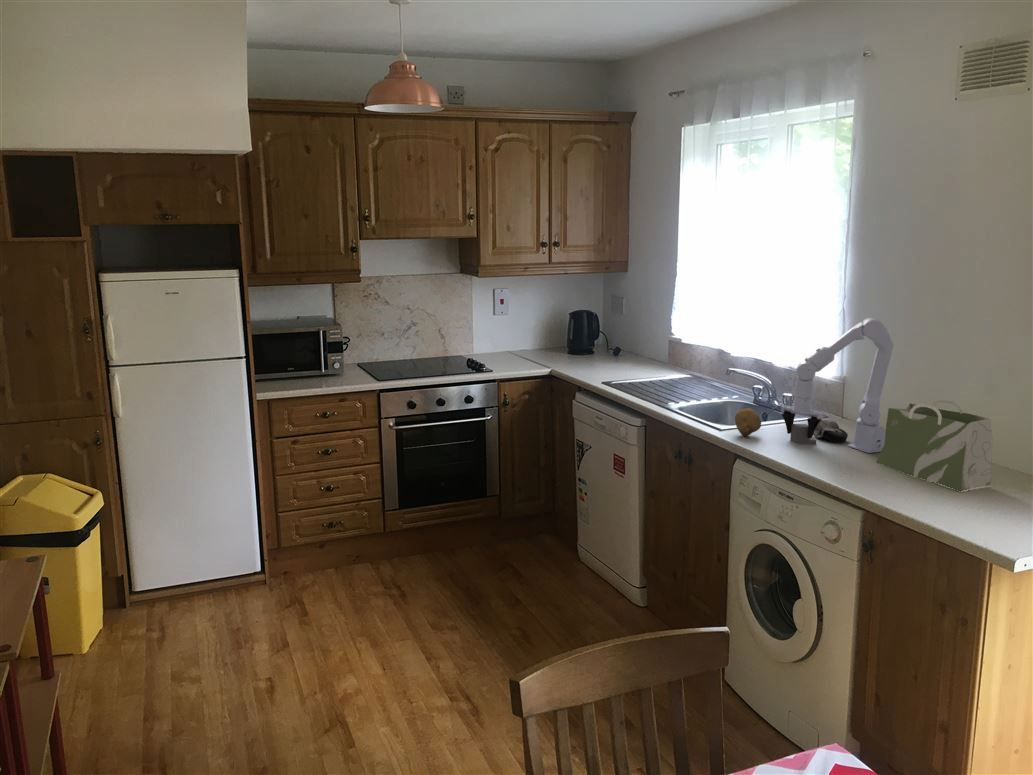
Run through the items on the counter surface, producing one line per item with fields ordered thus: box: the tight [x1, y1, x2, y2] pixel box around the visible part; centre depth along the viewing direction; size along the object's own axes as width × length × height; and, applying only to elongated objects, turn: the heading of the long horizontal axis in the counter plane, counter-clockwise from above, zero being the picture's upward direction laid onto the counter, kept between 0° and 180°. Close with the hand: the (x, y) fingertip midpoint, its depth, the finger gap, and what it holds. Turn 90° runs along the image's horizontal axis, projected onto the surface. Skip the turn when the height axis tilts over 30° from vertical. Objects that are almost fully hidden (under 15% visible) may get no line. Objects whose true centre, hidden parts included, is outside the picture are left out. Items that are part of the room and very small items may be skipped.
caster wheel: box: [813, 418, 849, 444], centre depth 304 cm, size 7×11×10 cm
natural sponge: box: [734, 407, 762, 437], centre depth 306 cm, size 9×9×10 cm
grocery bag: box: [876, 398, 993, 493], centre depth 263 cm, size 32×14×23 cm, turn 24°
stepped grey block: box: [789, 423, 818, 445], centre depth 299 cm, size 4×8×6 cm, turn 90°
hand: (799, 435), depth 299 cm, fingers open, 7 cm apart
